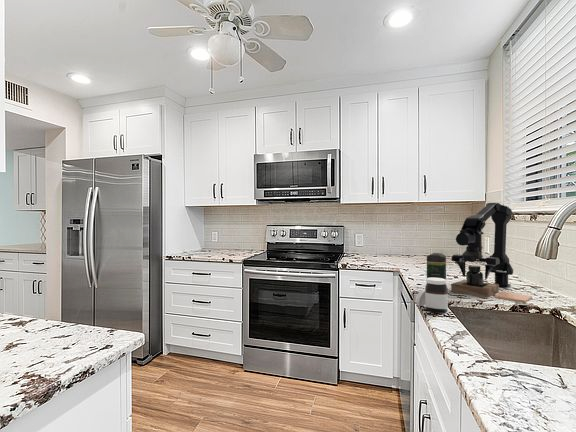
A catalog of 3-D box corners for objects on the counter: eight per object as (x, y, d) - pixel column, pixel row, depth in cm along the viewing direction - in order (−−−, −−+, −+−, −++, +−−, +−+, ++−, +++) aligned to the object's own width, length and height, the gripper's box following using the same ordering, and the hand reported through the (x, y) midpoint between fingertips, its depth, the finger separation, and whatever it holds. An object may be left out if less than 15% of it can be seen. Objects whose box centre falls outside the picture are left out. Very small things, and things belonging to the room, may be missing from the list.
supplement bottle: (479, 290, 151) (478, 264, 151) (486, 293, 144) (486, 267, 144) (463, 290, 152) (463, 264, 152) (470, 293, 145) (470, 267, 145)
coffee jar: (444, 297, 138) (444, 254, 138) (425, 295, 143) (424, 253, 143) (447, 292, 146) (447, 252, 146) (429, 290, 151) (428, 251, 151)
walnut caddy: (464, 286, 159) (463, 279, 159) (498, 291, 147) (498, 284, 147) (451, 291, 149) (451, 284, 149) (487, 297, 137) (487, 289, 137)
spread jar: (447, 315, 114) (446, 282, 114) (413, 310, 119) (413, 279, 119) (448, 306, 124) (448, 276, 124) (417, 303, 130) (417, 274, 130)
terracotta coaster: (502, 293, 144) (502, 291, 144) (532, 298, 136) (532, 296, 136) (494, 297, 137) (494, 295, 137) (525, 302, 129) (525, 300, 129)
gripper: (446, 244, 150) (446, 277, 150) (491, 246, 136) (491, 283, 136) (456, 242, 157) (456, 274, 157) (499, 245, 143) (500, 280, 143)
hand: (474, 277), depth 148 cm, fingers open, 9 cm apart
